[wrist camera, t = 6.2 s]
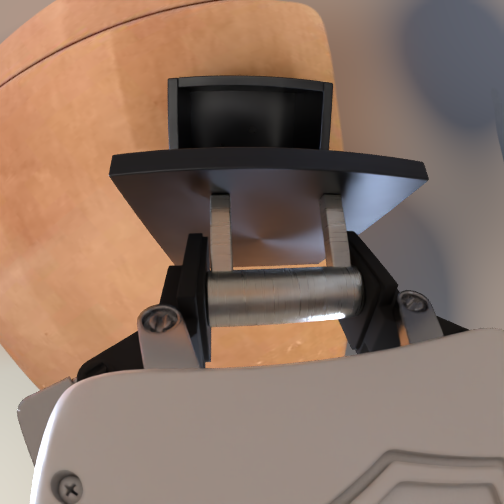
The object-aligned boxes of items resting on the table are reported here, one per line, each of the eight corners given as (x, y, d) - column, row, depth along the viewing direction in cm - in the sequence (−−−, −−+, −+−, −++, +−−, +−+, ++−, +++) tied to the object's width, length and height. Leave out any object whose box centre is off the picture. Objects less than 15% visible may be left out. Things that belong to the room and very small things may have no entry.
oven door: (111, 154, 8) (96, 325, 7) (423, 161, 9) (454, 301, 8) (177, 258, 22) (178, 327, 20) (317, 254, 23) (323, 319, 21)
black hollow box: (184, 85, 23) (167, 78, 15) (300, 87, 24) (333, 83, 16) (188, 217, 29) (178, 260, 22) (292, 214, 31) (316, 256, 23)
